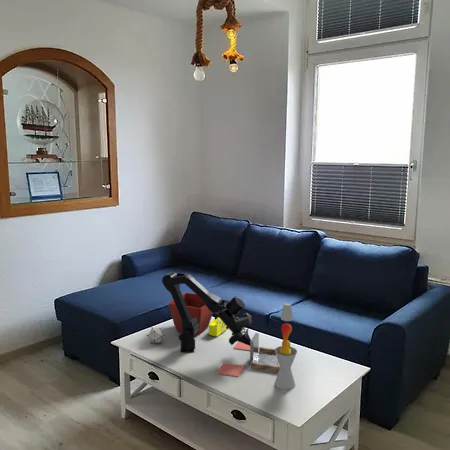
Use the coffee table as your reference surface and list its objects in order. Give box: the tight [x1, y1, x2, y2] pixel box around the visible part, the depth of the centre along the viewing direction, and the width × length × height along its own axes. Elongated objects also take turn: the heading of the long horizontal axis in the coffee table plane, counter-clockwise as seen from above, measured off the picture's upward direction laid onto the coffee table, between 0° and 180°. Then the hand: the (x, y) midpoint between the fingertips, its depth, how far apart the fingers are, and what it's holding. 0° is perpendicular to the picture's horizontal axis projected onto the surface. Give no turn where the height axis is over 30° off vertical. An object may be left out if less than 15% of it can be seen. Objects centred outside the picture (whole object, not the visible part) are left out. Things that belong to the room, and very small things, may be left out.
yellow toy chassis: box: [208, 317, 227, 337], centre depth 247 cm, size 16×6×8 cm, turn 152°
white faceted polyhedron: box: [146, 326, 166, 345], centre depth 233 cm, size 9×8×10 cm
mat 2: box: [233, 341, 250, 352], centre depth 230 cm, size 10×10×1 cm
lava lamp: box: [274, 303, 298, 391], centre depth 191 cm, size 9×9×35 cm
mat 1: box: [215, 362, 245, 378], centre depth 206 cm, size 10×10×1 cm
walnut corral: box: [250, 346, 280, 373], centre depth 213 cm, size 15×17×2 cm
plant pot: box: [168, 292, 214, 337], centre depth 248 cm, size 19×19×17 cm
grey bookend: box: [249, 332, 279, 366], centre depth 213 cm, size 12×10×11 cm
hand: (252, 345), depth 215 cm, fingers closed
